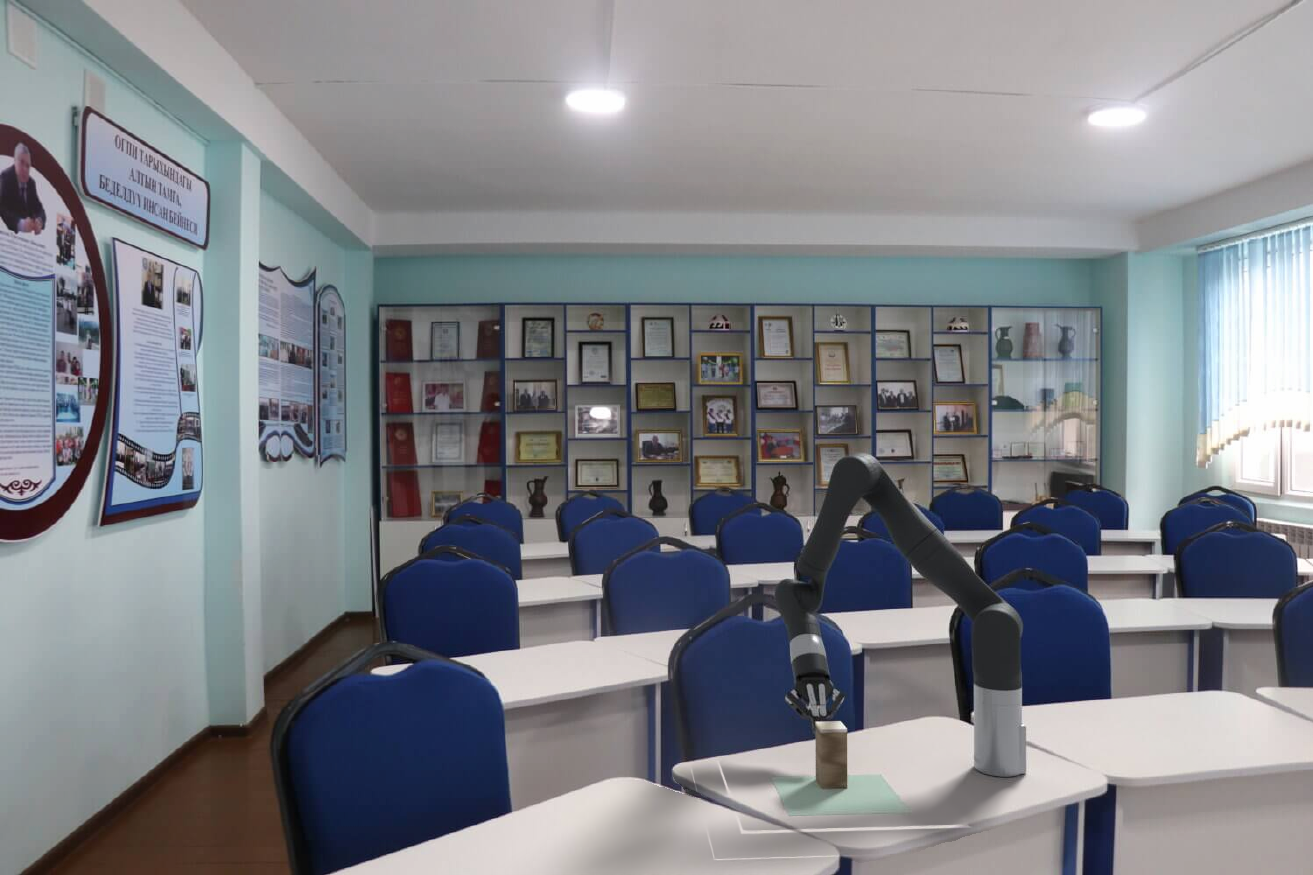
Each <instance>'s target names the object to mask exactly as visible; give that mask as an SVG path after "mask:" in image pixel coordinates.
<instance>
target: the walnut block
mask: <svg viewBox="0 0 1313 875" xmlns="http://www.w3.org/2000/svg"><path fill="white" fill-rule="evenodd" d="M815 729H816V735H815V776H816V781H817V783H818V784H819V786H820V788H821V789H847V775H848V728H847V727H846V726H845V724H844V723H843V722H842V721H841V720H833V721H831V720H830V721H828V720H827V721H824V722H815Z"/></svg>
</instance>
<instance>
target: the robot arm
mask: <svg viewBox="0 0 1313 875" xmlns="http://www.w3.org/2000/svg"><path fill="white" fill-rule="evenodd" d="M861 499H862V500H864V501H865V502H866V503H867V504H868V505H869V507H871V508H872V509H873V510H874V511H875V513H876V514H877V515H878V516H879V518H880V519H881V520H882V522H883V524H884V526H885V528H886V530H887V532H888V534H889V536H890V538H891V540H892V542H893V544H894V546H895V547H896V550H898V552H900V554H901V556H903V558H904V559H905V560H906V561H907V562H908V563H909V564H910V565H911V567H913V569H914V570H915V571H916V572H917V573H918V574H919V575H920V576H921V577H923V579H924V580H926V581H927V582H929V584H931V585H932V586H934V587H935V588H937V589H938V590H940V591H941V592H943V594H945V595H947V597H949V598H950V599H951V600H952V601H953V602H954V603H956V605H957V606H958V607H959V608H960V609H961V610H962V611H963V612H964V614H965V615H966V617H968V619H969V620H970V622H971V623H972V624H971V625H972V626H971V666H972V673H973V768H974V769H975V770H976V771H978V772H980V773H982V774H984V775H989V776H994V777H1000V778H1001V777H1002V778H1003V777H1005V778H1006V777H1007V778H1010V777H1016V776H1019V775H1022V774H1023V775H1024V774H1027V727H1026V725H1025V724H1024V723H1023V674H1022V667H1021V665H1022V664H1021V662H1022V661H1021V637H1022V636H1023V631H1024V623H1023V620H1022V618H1021V616H1020V614H1019V613H1018V612H1017V610H1016V609H1015V608H1014V607H1012V605H1010V604H1009V603H1008V602H1007V601H1006V600H1004V599H1003V598H1002V597H1001V596H1000V595H999V594H998V593H996V591H995V590H993V589H992V588H991V587H990V586H989V585H988V584H987V583H985V581H984V580H983V579H982V578H981V577H980V576H979V575H978V574H977V573H976V572H975V570H974V569H973V568H972V566H971V565H970V564H969V563H968V561H967V560H966V559H965V558H964V557H963V555H962V554H961V553H960V552H959V551H958V550H957V548H956V547H955V546H954V545H953V543H951V541H950V540H949V539H948V538H947V537H946V536H945V535H944V534H943V532H941V530H939V529H938V527H937V526H935V525H934V524H933V522H931V520H930V519H928V517H926V514H924V513H923V512H922V511H921V510H920V509H919V508H918V506H916V505H915V504H914V503H913V502H912V501H911V500H910V498H908V497H907V496H906V495H905V494H904V493H903V491H902V490H901V489H900V488H899V487H898V486H897V484H896V483H895V482H894V480H893V479H892V478H891V476H890V475H889V473H888V472H887V471H886V469H885V468H884V466H883V465H882V464H881V463H880V461H879V460H878V459H876V458H875V457H874V456H873V455H871V454H869V453H866V452H855V453H851V454H848V455H845V456H843V457H841V458H840V459H839V460H838V461H836V463H835V464H834V466H833V468H832V471H831V475H830V477H829V481H828V485H827V488H826V492H825V496H824V500H823V502H822V505H821V508H820V511H819V514H818V516H817V518H816V520H815V523H814V526H813V528H812V530H811V532H810V534H809V537H808V538H807V541H806V543H805V544H804V547H803V549H802V551H801V553H800V555H799V558H798V560H797V564H796V569H797V570H798V572H799V573H800V574H801V575H803V577H805V578H808V582H804V581H799V580H797V579H796V580H795V579H793V578H784V579H782V580H780V581H779V583H777V585H776V587H775V591H774V603H775V606H776V608H777V610H778V612H779V614H780V616H781V617H780V618H781V619H782V620H783V621H782V622H783V623H784V625H785V627H786V629H787V635H788V640H789V653H790V654H789V655H790V663H791V668H792V673H793V674H792V675H793V682H794V685H793V688H792V690H791V691H787V692H786V694H785V698H784V702H785V703H786V704H787V705H788V706H789V707H790V708H792V710H794V712H795V713H796V714H797V715H799V717H800V718H801V719H803V720H809V721H811V727H812V733H813V735H814V736H816V729H815V722H824V721H828V720H827V719H829V720H831V719H833V717H834V716H835V715H836V713H837V711H838V709H840V707H841V705H842V704H843V702H844V699H845V697H846V692H845V691H843V690H841V691H839V690H837V689H836V688H835V685H834V683H833V682H832V680H831V675H830V670H829V664H828V660H827V654H826V648H825V646H824V643H823V642H824V641H823V639H822V638H823V636H822V633H821V627H820V624H819V623H820V622H819V620H818V619H817V618H816V617H815V616H814V614H815V613H817V612H818V610H819V609H821V606H822V604H823V603H822V602H823V598H824V590H825V585H826V581H827V576H828V572H829V570H830V569H831V567H832V564H833V563H834V561H835V559H836V556H837V554H838V551H839V550H840V546H841V543H842V539H843V538H842V537H843V534H844V530H845V526H846V524H847V522H848V519H849V516H850V515H851V513H852V511H853V510H854V508H855V507H856V505H857V504H858V502H859V501H860V500H861ZM831 696H832V700H833V702H832V704H831V705H830V706H829V708H828V709H827V708H826V707H827V703H828V702H829V699H830V698H831ZM803 703H804V704H803Z"/></svg>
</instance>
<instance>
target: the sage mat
mask: <svg viewBox="0 0 1313 875" xmlns="http://www.w3.org/2000/svg"><path fill="white" fill-rule="evenodd" d="M770 779H771V781H772V783H773V785H774V787H775V790H776V791H777V794H778V795H779V797H780V799H781V801H782V804H783V805H784V807H785V810H786V812H787V814H788V816H789V817H793V816H795V817H797V816H799V817H800V816H831V815H870V814H874V815H875V814H903V813H904V814H905V813H906V814H907V813H909V814H910V813H912V811H911V810H910V809H909V808H908V806H907V805H906V804H905V803H904V801H903V800H902V799H901V798H900V796H899V795H898V794H897V793H896V792H895V790H894V789H893V788H892V786H891V785H890V784H889V782H887V780H886V779H885V778H884V776H882V774H878V773H877V774H847V789H821V788H820V786H819V784H818V783H817V781H816V775H812V776H811V775H810V776H809V775H805V776H803V775H802V776H771V777H770Z"/></svg>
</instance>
